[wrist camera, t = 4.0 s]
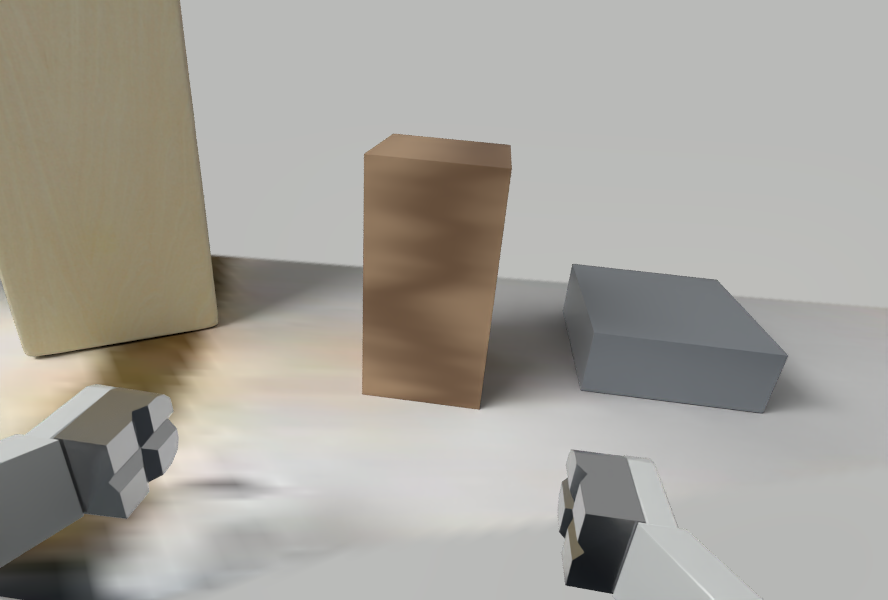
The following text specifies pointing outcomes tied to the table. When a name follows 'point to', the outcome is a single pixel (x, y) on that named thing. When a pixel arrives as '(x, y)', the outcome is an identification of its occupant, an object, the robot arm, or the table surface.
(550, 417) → the table surface
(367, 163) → the walnut brick
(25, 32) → the tall pale wood block
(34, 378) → the table surface
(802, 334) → the table surface
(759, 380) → the base brick
